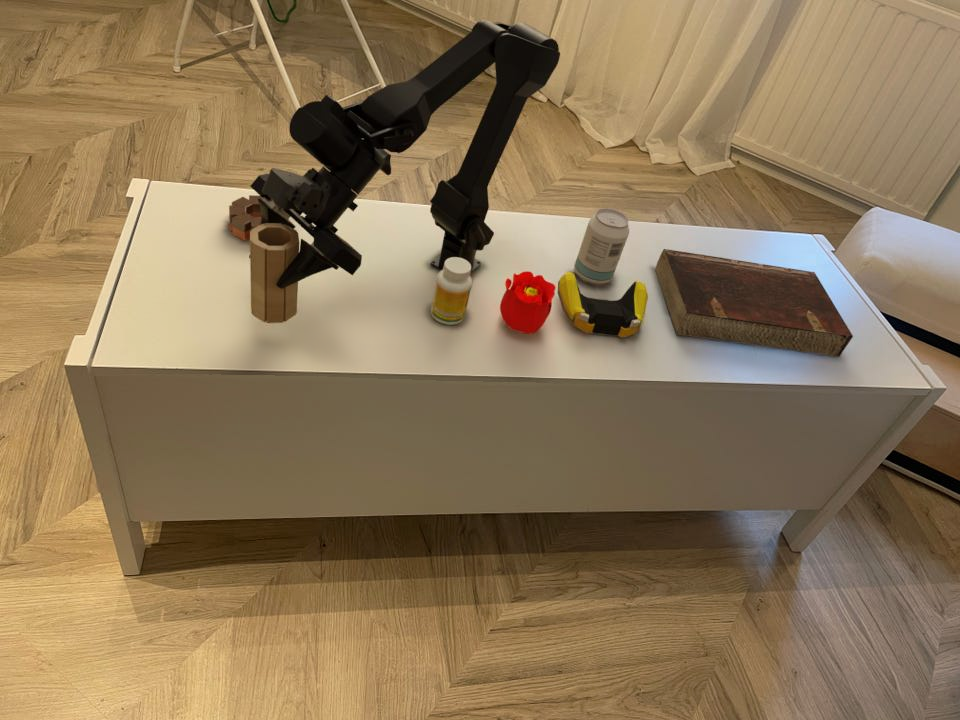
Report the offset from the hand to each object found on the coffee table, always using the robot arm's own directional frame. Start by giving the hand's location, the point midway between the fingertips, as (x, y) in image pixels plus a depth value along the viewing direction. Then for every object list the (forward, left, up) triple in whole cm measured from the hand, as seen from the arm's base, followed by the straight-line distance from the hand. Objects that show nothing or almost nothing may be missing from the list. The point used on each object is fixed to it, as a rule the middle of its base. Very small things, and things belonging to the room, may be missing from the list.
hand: (264, 273), depth 102 cm
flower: (-28, +27, -11) cm, 40 cm away
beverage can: (-49, +30, -11) cm, 59 cm away
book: (-60, +55, -11) cm, 82 cm away
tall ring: (-1, 0, -7) cm, 7 cm away
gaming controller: (-39, +36, -11) cm, 54 cm away
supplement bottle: (-22, +17, -11) cm, 30 cm away
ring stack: (-19, -19, -11) cm, 29 cm away
